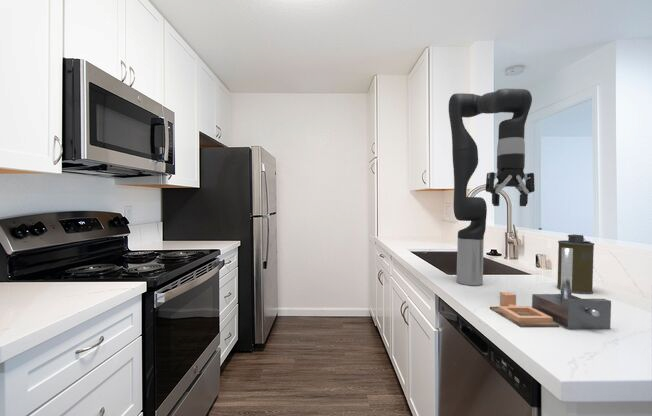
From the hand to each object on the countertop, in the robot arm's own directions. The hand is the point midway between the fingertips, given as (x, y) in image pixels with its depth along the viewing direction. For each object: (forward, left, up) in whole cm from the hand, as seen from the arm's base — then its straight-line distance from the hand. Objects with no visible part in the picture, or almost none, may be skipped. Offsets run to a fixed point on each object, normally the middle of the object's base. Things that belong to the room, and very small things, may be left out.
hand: (509, 206), depth 101 cm
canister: (-14, +34, -30) cm, 48 cm away
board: (+13, -4, -30) cm, 33 cm away
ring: (+12, -4, -29) cm, 32 cm away
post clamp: (+16, +8, -30) cm, 35 cm away
